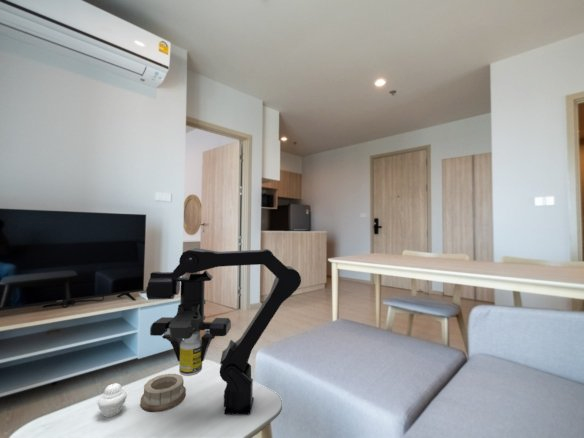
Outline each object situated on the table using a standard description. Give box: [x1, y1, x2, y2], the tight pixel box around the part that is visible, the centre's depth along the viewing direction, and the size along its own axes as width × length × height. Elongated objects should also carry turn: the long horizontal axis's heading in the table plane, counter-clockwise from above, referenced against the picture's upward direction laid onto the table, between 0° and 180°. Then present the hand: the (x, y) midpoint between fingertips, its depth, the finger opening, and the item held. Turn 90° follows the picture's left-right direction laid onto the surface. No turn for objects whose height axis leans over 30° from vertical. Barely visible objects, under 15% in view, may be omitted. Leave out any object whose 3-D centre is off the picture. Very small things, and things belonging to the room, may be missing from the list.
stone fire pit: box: [140, 373, 187, 413], centre depth 74 cm, size 11×11×4 cm
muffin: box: [96, 382, 128, 418], centre depth 68 cm, size 6×6×7 cm
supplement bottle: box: [179, 330, 203, 377], centre depth 70 cm, size 5×5×10 cm
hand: (191, 360), depth 70 cm, fingers closed on supplement bottle, 5 cm apart
